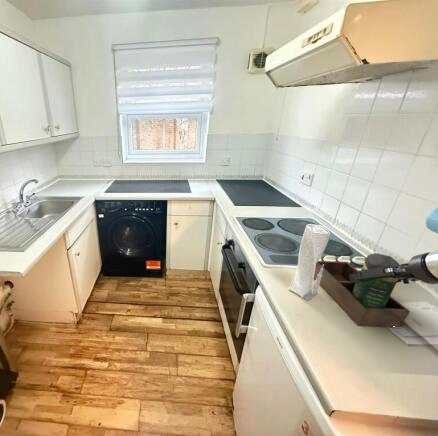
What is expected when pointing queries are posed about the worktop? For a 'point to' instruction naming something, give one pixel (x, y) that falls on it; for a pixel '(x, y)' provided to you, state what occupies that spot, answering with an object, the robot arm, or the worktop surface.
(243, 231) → the worktop surface
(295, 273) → the skyscraper
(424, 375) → the worktop surface
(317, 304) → the worktop surface
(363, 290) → the coffee jar
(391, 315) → the organiser
